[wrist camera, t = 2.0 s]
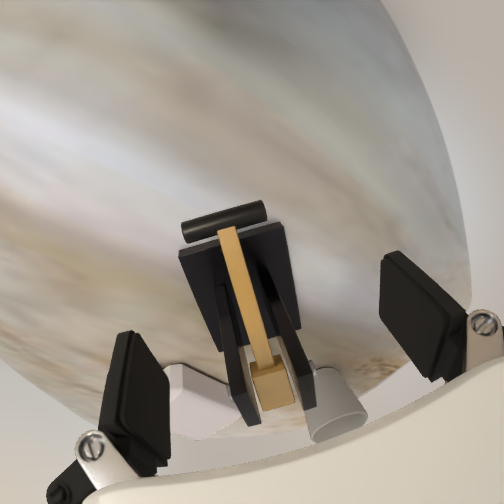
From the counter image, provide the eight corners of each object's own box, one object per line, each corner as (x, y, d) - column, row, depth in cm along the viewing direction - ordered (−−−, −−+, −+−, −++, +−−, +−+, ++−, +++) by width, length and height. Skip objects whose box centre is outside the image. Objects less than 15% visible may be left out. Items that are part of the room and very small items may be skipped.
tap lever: (184, 223, 19) (177, 222, 16) (259, 201, 19) (263, 197, 17) (241, 399, 20) (242, 417, 17) (307, 380, 20) (315, 396, 18)
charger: (135, 333, 28) (237, 386, 35) (98, 372, 30) (193, 415, 37) (129, 367, 24) (243, 416, 31) (92, 403, 26) (195, 443, 33)
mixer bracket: (178, 250, 25) (172, 366, 14) (280, 221, 25) (344, 316, 14) (218, 344, 31) (234, 451, 20) (298, 321, 31) (342, 419, 20)
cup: (323, 354, 35) (349, 407, 28) (361, 374, 39) (385, 418, 32) (281, 388, 37) (298, 440, 29) (323, 403, 41) (341, 446, 34)
